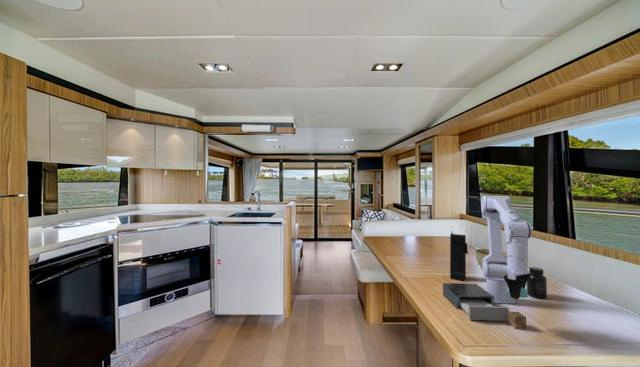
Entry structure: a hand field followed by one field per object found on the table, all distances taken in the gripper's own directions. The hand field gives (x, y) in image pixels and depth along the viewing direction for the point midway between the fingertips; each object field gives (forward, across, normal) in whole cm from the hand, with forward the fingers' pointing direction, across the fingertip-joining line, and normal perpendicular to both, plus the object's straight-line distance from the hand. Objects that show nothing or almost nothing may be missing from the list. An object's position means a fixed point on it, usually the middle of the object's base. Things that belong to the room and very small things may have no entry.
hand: (517, 295), depth 90 cm
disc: (0, 0, 0) cm, 1 cm away
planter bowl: (+11, -60, -24) cm, 66 cm away
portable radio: (+11, -34, -32) cm, 48 cm away
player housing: (+10, -6, -18) cm, 22 cm away
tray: (+10, -1, -12) cm, 16 cm away
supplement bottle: (+11, -37, -1) cm, 39 cm away
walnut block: (+10, 0, 0) cm, 10 cm away
